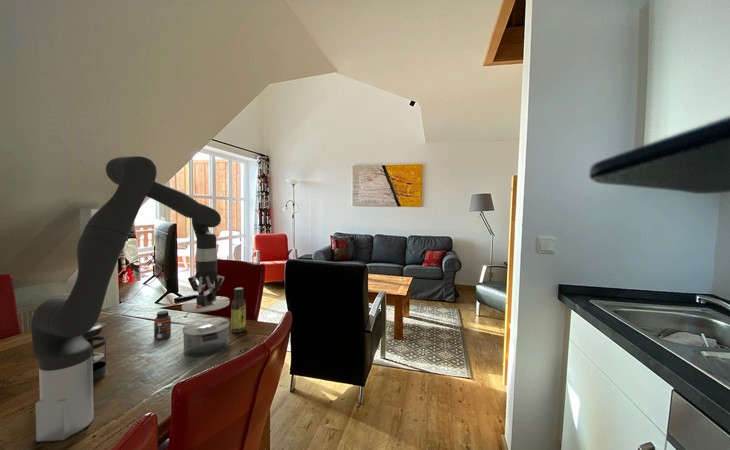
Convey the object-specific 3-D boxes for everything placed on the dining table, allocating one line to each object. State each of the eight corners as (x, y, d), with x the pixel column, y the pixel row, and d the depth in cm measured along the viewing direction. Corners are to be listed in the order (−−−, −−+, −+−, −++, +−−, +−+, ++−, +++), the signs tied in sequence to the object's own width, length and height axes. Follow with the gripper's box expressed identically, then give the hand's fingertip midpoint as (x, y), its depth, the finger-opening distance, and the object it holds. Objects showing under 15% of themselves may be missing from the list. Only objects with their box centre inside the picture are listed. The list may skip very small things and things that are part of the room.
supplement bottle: (162, 341, 119) (161, 315, 118) (150, 339, 120) (150, 313, 119) (174, 335, 125) (174, 310, 124) (163, 334, 126) (162, 309, 125)
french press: (111, 366, 99) (110, 302, 98) (109, 378, 92) (108, 309, 91) (62, 378, 92) (61, 309, 91) (56, 392, 84) (54, 317, 84)
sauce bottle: (243, 333, 128) (243, 290, 128) (229, 333, 127) (229, 290, 127) (247, 327, 135) (247, 286, 134) (233, 327, 134) (233, 286, 133)
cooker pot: (234, 352, 110) (234, 330, 110) (184, 365, 101) (183, 340, 100) (225, 332, 128) (225, 313, 128) (181, 341, 119) (181, 320, 118)
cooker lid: (219, 312, 106) (219, 298, 106) (172, 312, 104) (172, 299, 104) (235, 298, 123) (235, 287, 123) (195, 299, 121) (195, 287, 121)
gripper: (183, 260, 109) (183, 304, 109) (220, 260, 110) (220, 304, 111) (193, 257, 116) (193, 298, 117) (228, 257, 117) (228, 298, 118)
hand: (206, 301), depth 114 cm, fingers closed on cooker lid, 3 cm apart
